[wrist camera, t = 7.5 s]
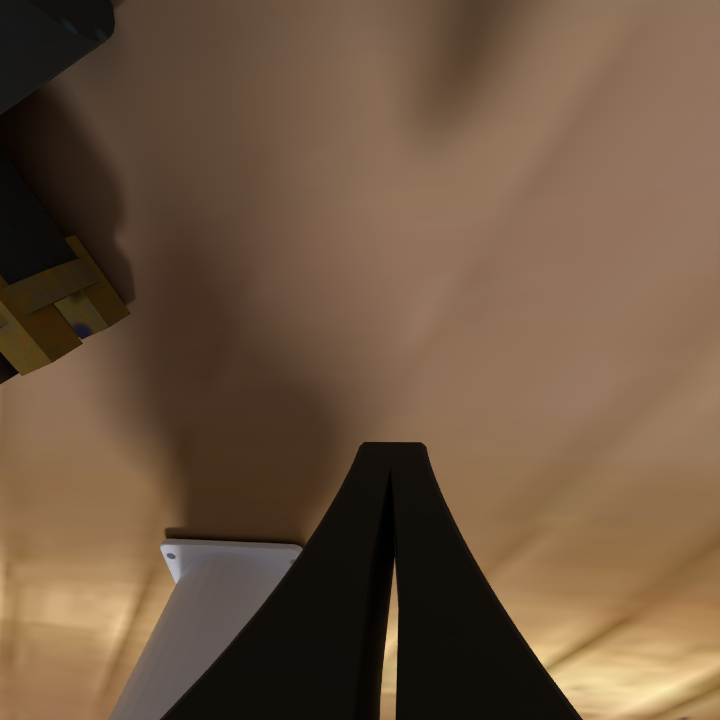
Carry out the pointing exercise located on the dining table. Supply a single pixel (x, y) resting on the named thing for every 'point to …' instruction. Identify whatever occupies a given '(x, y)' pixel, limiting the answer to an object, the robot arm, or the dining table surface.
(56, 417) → the dining table surface
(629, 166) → the dining table surface
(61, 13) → the pipe connector
